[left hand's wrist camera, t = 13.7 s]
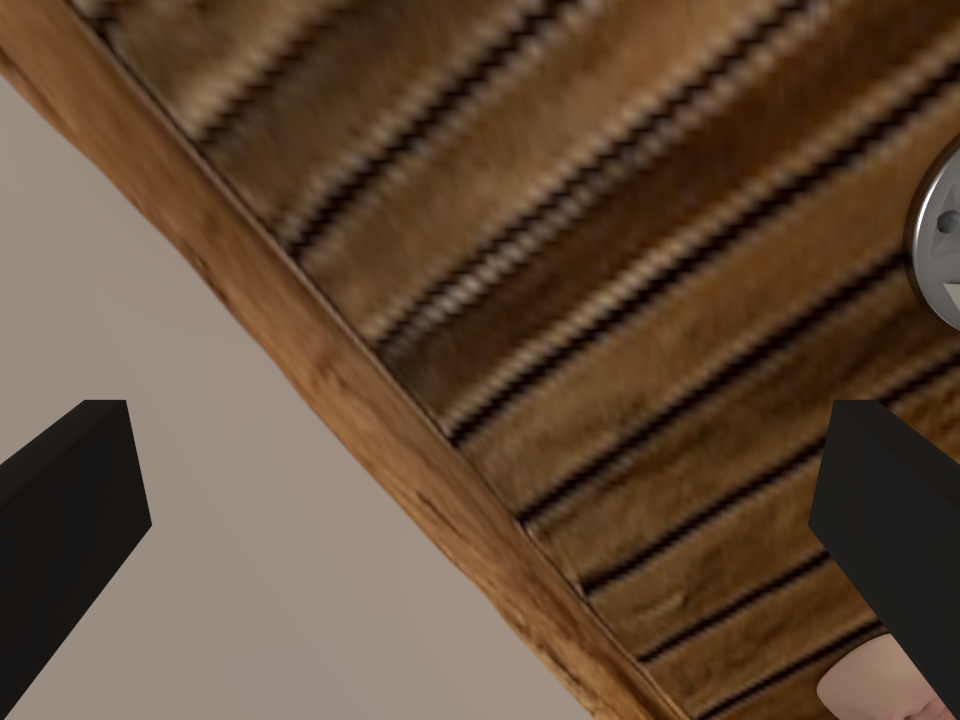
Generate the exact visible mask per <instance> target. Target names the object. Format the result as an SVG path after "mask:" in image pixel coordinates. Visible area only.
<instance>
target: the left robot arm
mask: <svg viewBox="0 0 960 720" xmlns="http://www.w3.org/2000/svg"><path fill="white" fill-rule="evenodd" d="M902 250H903V262H904V267H905V272H906V275H907V278H908V281H909V284H910V286H911V288H912V290H913V292H914V294H915V295H916V297H917V299H918V300H919V301H920V303H921V304H922V305H923V306H924V307H925V308H926V309H927V310H928V311H929V312H930V313H931V314H932V315H933V316H934V317H936V318H937V319H938V320H940V321H942V322H943V323H945V324H947V325H949V326H951V327H953V328H955V329H957V330H959V331H960V133H959V134H958V135H957V136H956V137H955V138H954V139H953V140H952V141H951V142H950V143H949V144H948V145H947V146H946V147H945V148H944V149H943V151H942V152H941V153H940V154H939V155H938V156H937V158H936V159H935V160H934V162H933V163H932V164H931V166H930V167H929V169H928V170H927V172H926V174H925V175H924V177H923V178H922V180H921V182H920V184H919V186H918V188H917V190H916V192H915V194H914V197H913V199H912V201H911V204H910V207H909V210H908V213H907V217H906V221H905V226H904V233H903V249H902ZM151 526H152V522H151V517H150V513H149V508H148V503H147V498H146V493H145V489H144V484H143V479H142V474H141V470H140V465H139V460H138V455H137V451H136V446H135V441H134V436H133V432H132V427H131V422H130V417H129V413H128V408H127V403H126V400H84V401H82V402H81V403H80V404H79V405H77V406H76V407H75V408H73V409H72V410H71V411H70V412H68V413H67V414H66V415H64V416H63V417H62V418H60V419H59V420H58V421H57V422H55V423H54V424H53V425H51V426H50V427H49V428H47V429H46V430H45V431H44V432H42V433H41V434H40V435H38V436H37V437H36V438H34V439H33V440H32V441H31V442H29V443H28V444H27V445H25V446H24V447H23V448H21V449H20V450H19V451H18V452H16V453H15V454H14V455H12V456H11V457H10V458H8V459H7V460H6V461H5V462H3V463H2V464H1V465H0V720H4V719H5V718H6V716H7V715H8V714H9V712H10V711H11V710H12V708H13V707H14V706H15V704H16V703H17V702H18V701H19V699H20V698H21V696H22V695H23V694H24V693H25V691H26V690H27V689H28V687H29V686H30V685H31V683H32V682H33V681H34V679H35V678H36V677H37V676H38V674H39V673H40V672H41V670H42V669H43V668H44V666H45V665H46V664H47V662H48V661H49V660H50V659H51V657H52V656H53V655H54V653H55V652H56V651H57V649H58V648H59V647H60V645H61V644H62V643H63V641H64V640H65V639H66V638H67V636H68V635H69V634H70V632H71V631H72V630H73V628H74V627H75V626H76V624H77V623H78V622H79V620H80V619H81V618H82V617H83V615H84V614H85V613H86V611H87V610H88V609H89V607H90V606H91V605H92V603H93V602H94V601H95V599H96V598H97V597H98V596H99V594H100V593H101V592H102V590H103V589H104V588H105V586H106V585H107V584H108V582H109V581H110V580H111V579H112V577H113V576H114V575H115V573H116V572H117V571H118V569H119V568H120V567H121V565H122V564H123V563H124V561H125V560H126V559H127V558H128V556H129V555H130V554H131V552H132V551H133V550H134V548H135V547H136V546H137V544H138V543H139V542H140V540H141V539H142V538H143V537H144V535H145V534H146V533H147V531H148V530H149V529H150V527H151ZM808 526H809V527H810V529H811V530H812V531H813V533H814V534H815V535H816V537H817V538H818V539H819V540H820V542H821V543H822V544H823V546H824V547H825V548H826V550H827V551H828V552H829V554H830V555H831V556H832V558H833V559H834V560H835V561H836V563H837V564H838V565H839V567H840V568H841V569H842V571H843V572H844V573H845V575H846V576H847V577H848V579H849V580H850V581H851V582H852V584H853V585H854V586H855V588H856V589H857V590H858V592H859V593H860V594H861V596H862V597H863V598H864V600H865V601H866V602H867V603H868V605H869V606H870V607H871V609H872V610H873V611H874V613H875V614H876V615H877V617H878V618H879V619H880V620H881V622H882V623H883V624H884V626H885V627H886V628H887V630H888V631H889V632H890V634H891V635H892V636H893V638H894V639H895V640H896V641H897V643H898V644H899V645H900V647H901V648H902V649H903V651H904V652H905V653H906V655H907V656H908V657H909V659H910V660H911V661H912V662H913V664H914V665H915V666H916V668H917V669H918V670H919V672H920V673H921V674H922V676H923V677H924V678H925V680H926V681H927V682H928V683H929V685H930V686H931V687H932V689H933V690H934V691H935V693H936V694H937V695H938V697H939V698H940V699H941V701H942V702H943V703H944V704H945V706H946V707H947V708H948V710H949V711H950V712H951V714H952V715H953V716H954V718H955V719H956V720H960V465H959V464H958V463H957V462H955V461H954V460H953V459H952V458H950V457H949V456H948V455H946V454H945V453H944V452H942V451H941V450H940V449H939V448H937V447H936V446H935V445H933V444H932V443H931V442H929V441H928V440H927V439H926V438H924V437H923V436H922V435H920V434H919V433H918V432H916V431H915V430H914V429H913V428H911V427H910V426H909V425H907V424H906V423H905V422H903V421H902V420H901V419H900V418H898V417H897V416H896V415H894V414H893V413H892V412H891V411H889V410H888V409H887V408H885V407H884V406H883V405H881V404H880V403H879V402H878V401H876V400H834V403H833V408H832V412H831V417H830V422H829V427H828V432H827V436H826V441H825V446H824V451H823V455H822V460H821V465H820V470H819V474H818V479H817V484H816V489H815V493H814V498H813V503H812V508H811V513H810V517H809V522H808Z"/></svg>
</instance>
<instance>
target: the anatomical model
mask: <svg viewBox="0 0 960 720" xmlns="http://www.w3.org/2000/svg"><path fill="white" fill-rule="evenodd" d="M817 694H818V696H819V698H820V700H821V701H822V702H823V704H824V705H825V706H826V707H827V708H828V709H829V710H830V711H831V712H832V713H833V714H834V715H835V716H836V717H838V718H839V719H840V720H956V719H955V718H954V716H953V715H952V714H951V712H950V711H949V710H948V708H947V707H946V706H945V704H944V703H943V702H942V701H941V699H940V698H939V697H938V695H937V694H936V693H935V691H934V690H933V689H932V687H931V686H930V685H929V683H928V682H927V681H926V680H925V678H924V677H923V676H922V674H921V673H920V672H919V670H918V669H917V668H916V666H915V665H914V664H913V662H912V661H911V660H910V659H909V657H908V656H907V655H906V653H905V652H904V651H903V649H902V648H901V647H900V645H899V644H898V643H897V641H896V640H895V639H894V638H893V636H892V635H891V634H890V633H889V634H885V635H882V636H879V637H876V638H874V639H871V640H869V641H867V642H866V643H864V644H862V645H860V646H859V647H857V648H856V649H854V650H853V651H851V652H850V653H849V654H847V655H846V656H845V657H844V658H842V659H841V660H840V661H839V662H837V663H836V664H835V665H834V666H833V667H832V668H831V669H830V670H829V671H828V672H827V673H826V674H825V675H824V676H823V677H822V678H821V680H820V682H819V683H818V686H817Z"/></svg>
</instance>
